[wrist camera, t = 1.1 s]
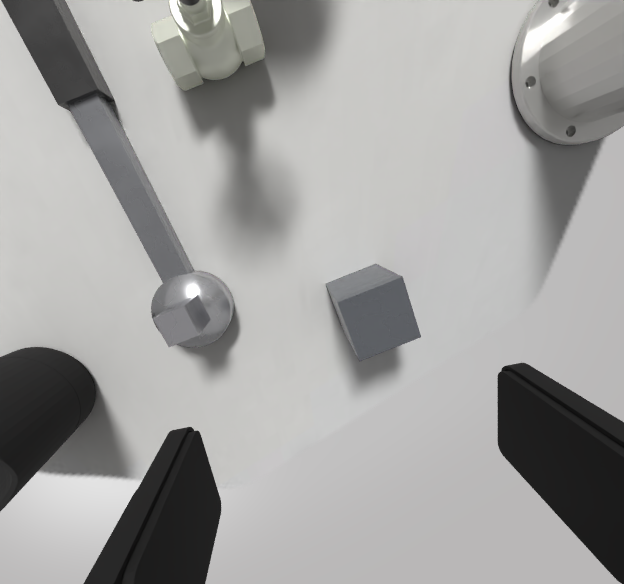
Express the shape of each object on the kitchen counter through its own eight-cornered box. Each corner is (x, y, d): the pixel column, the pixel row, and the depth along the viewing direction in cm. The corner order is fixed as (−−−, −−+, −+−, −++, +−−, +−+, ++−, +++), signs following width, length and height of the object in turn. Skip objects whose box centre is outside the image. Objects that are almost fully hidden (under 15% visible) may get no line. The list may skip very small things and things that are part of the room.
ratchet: (75, -33, 20) (1, -122, 15) (245, 323, 27) (235, 348, 22) (-10, 2, 20) (-114, -75, 15) (182, 348, 27) (157, 379, 22)
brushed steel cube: (375, 263, 27) (402, 276, 21) (391, 311, 28) (421, 336, 22) (325, 283, 27) (337, 302, 21) (343, 330, 28) (359, 361, 22)
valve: (275, 88, 23) (264, -45, 11) (197, 120, 23) (109, 20, 12) (239, -9, 21) (184, -279, 10) (156, 26, 22) (3, -202, 10)
